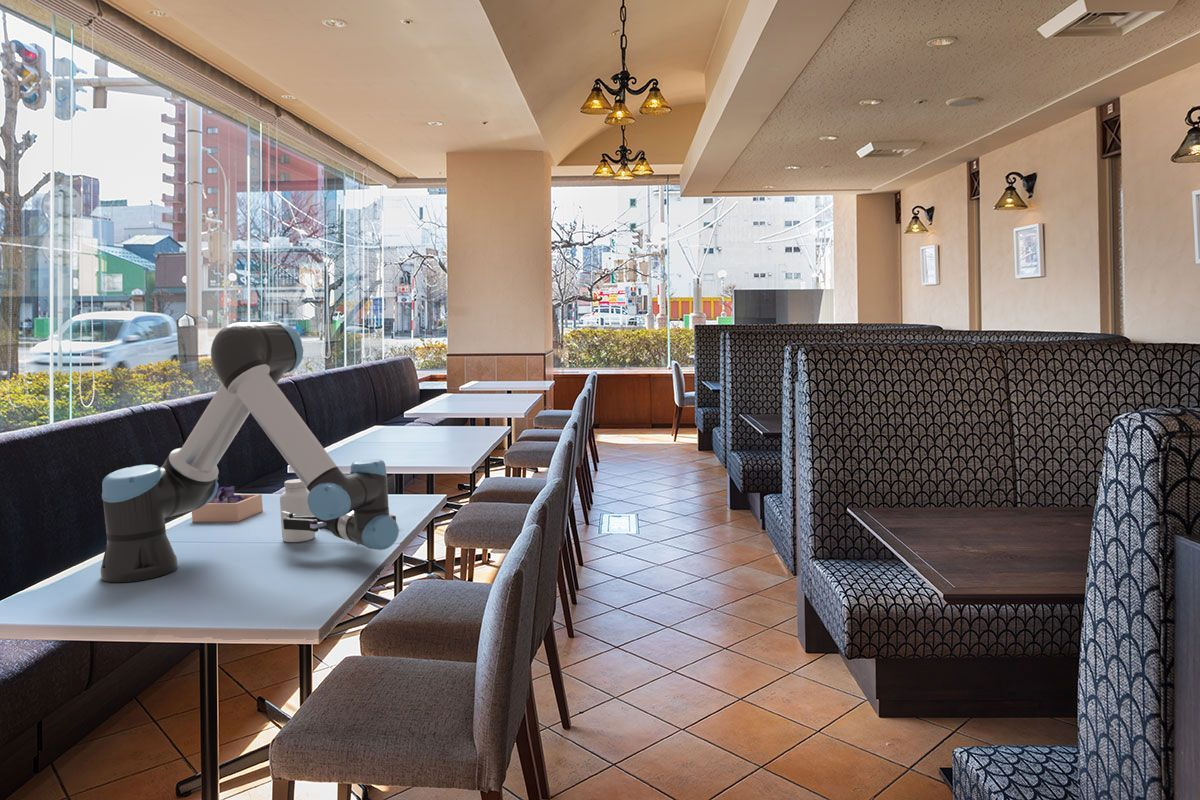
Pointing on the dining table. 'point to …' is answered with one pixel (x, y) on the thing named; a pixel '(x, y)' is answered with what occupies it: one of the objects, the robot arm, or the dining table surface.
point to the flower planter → (229, 509)
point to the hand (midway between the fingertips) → (309, 511)
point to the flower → (227, 495)
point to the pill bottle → (295, 509)
